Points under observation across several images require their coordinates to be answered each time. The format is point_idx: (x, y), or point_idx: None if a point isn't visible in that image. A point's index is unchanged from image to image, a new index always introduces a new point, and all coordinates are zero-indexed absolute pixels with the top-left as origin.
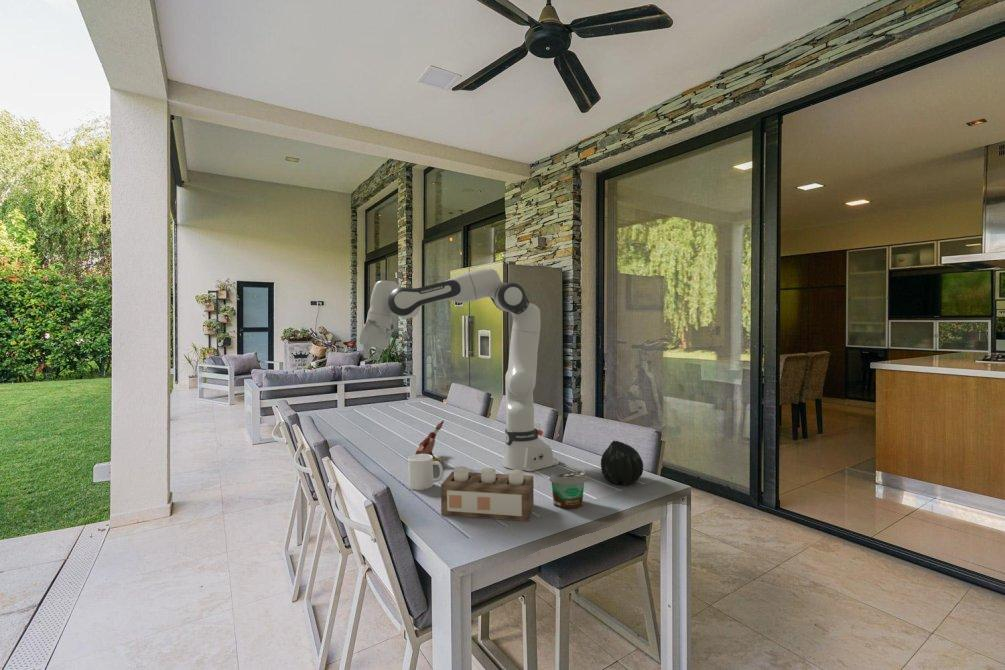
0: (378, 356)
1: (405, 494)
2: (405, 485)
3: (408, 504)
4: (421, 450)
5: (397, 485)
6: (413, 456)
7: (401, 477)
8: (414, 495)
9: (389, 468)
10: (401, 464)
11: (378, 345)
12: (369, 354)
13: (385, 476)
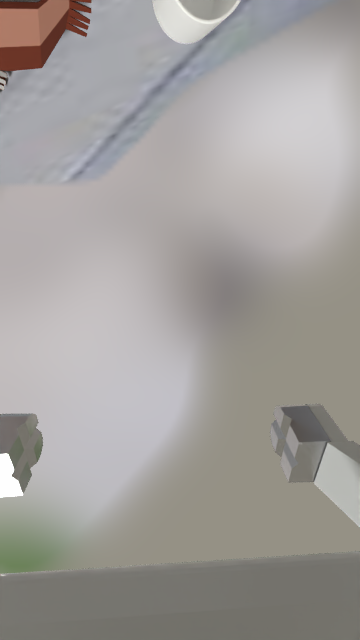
0: (12, 445)
1: (240, 38)
2: (181, 61)
3: (300, 6)
4: (67, 6)
5: (182, 88)
6: (184, 9)
7: (124, 96)
8: (248, 3)
9: (63, 163)
10: (18, 137)
11: (188, 608)
12: (325, 434)
13: (124, 150)
